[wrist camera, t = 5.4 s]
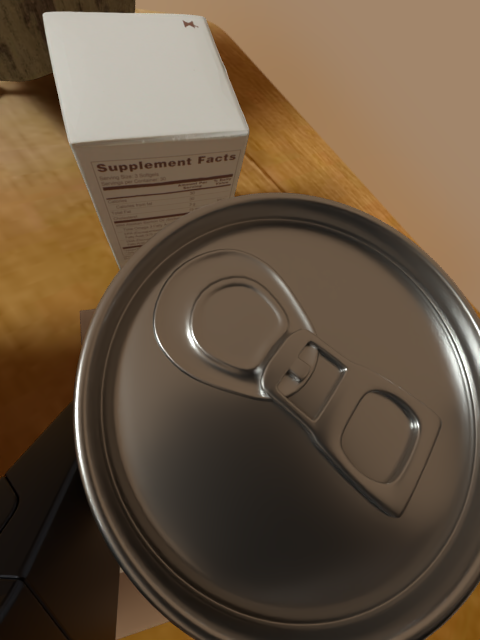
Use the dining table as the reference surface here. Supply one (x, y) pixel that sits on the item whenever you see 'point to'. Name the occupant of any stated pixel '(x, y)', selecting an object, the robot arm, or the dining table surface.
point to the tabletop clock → (38, 33)
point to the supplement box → (146, 117)
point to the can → (285, 425)
